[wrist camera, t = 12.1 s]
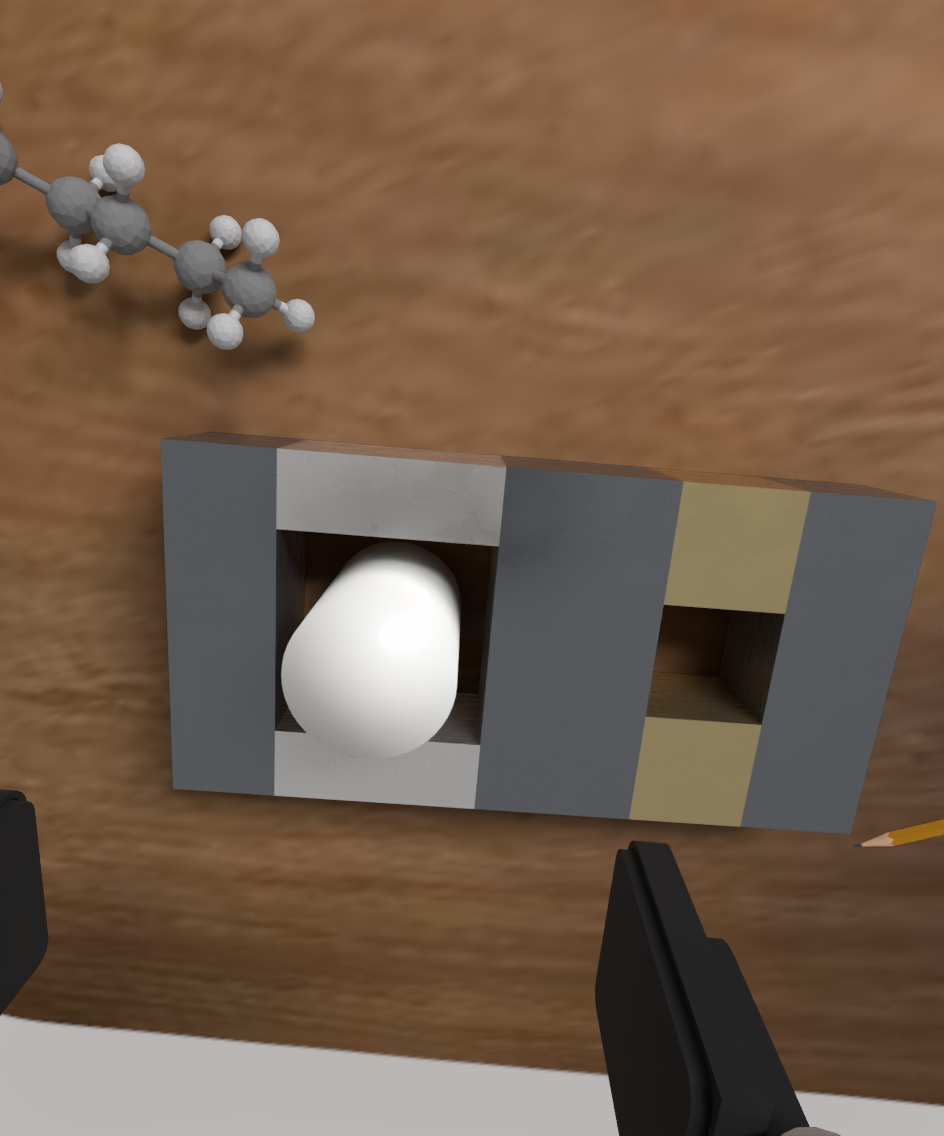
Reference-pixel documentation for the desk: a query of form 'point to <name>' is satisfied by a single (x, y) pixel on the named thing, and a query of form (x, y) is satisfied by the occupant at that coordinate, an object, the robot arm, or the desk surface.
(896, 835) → the pencil
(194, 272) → the molecular model
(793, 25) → the desk surface
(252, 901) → the desk surface
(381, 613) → the white capsule cylinder
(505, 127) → the desk surface
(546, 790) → the socket block
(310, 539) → the desk surface
